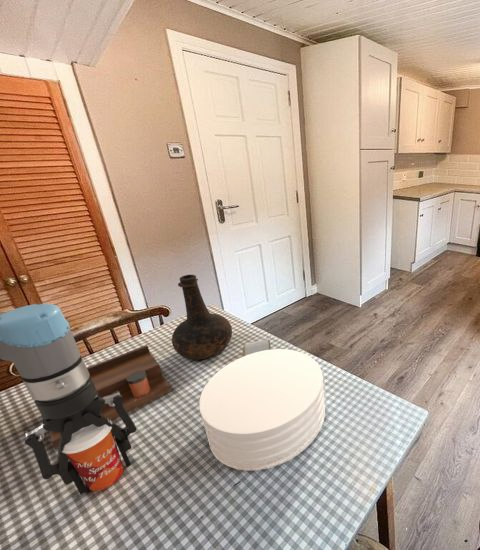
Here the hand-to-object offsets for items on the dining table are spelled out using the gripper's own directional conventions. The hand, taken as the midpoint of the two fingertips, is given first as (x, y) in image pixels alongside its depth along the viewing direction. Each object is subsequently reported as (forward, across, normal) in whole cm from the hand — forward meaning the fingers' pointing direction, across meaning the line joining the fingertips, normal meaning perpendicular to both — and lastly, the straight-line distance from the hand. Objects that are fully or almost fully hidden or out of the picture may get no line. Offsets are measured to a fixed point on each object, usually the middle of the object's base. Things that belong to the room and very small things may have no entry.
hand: (105, 474), depth 63 cm
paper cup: (+2, 0, 0) cm, 2 cm away
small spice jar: (-1, +12, +20) cm, 23 cm away
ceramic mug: (+2, +41, +9) cm, 42 cm away
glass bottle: (+2, +32, +30) cm, 44 cm away
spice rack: (+1, +6, +25) cm, 26 cm away
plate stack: (+2, +31, -12) cm, 33 cm away
